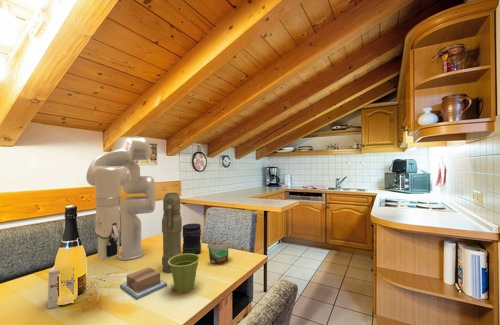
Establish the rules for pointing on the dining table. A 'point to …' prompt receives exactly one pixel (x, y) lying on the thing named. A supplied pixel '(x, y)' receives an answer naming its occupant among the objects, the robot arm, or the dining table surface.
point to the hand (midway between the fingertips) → (108, 253)
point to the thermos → (171, 229)
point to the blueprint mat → (144, 292)
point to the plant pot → (184, 271)
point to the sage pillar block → (105, 248)
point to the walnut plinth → (143, 279)
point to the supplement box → (53, 287)
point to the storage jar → (191, 239)
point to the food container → (219, 252)
